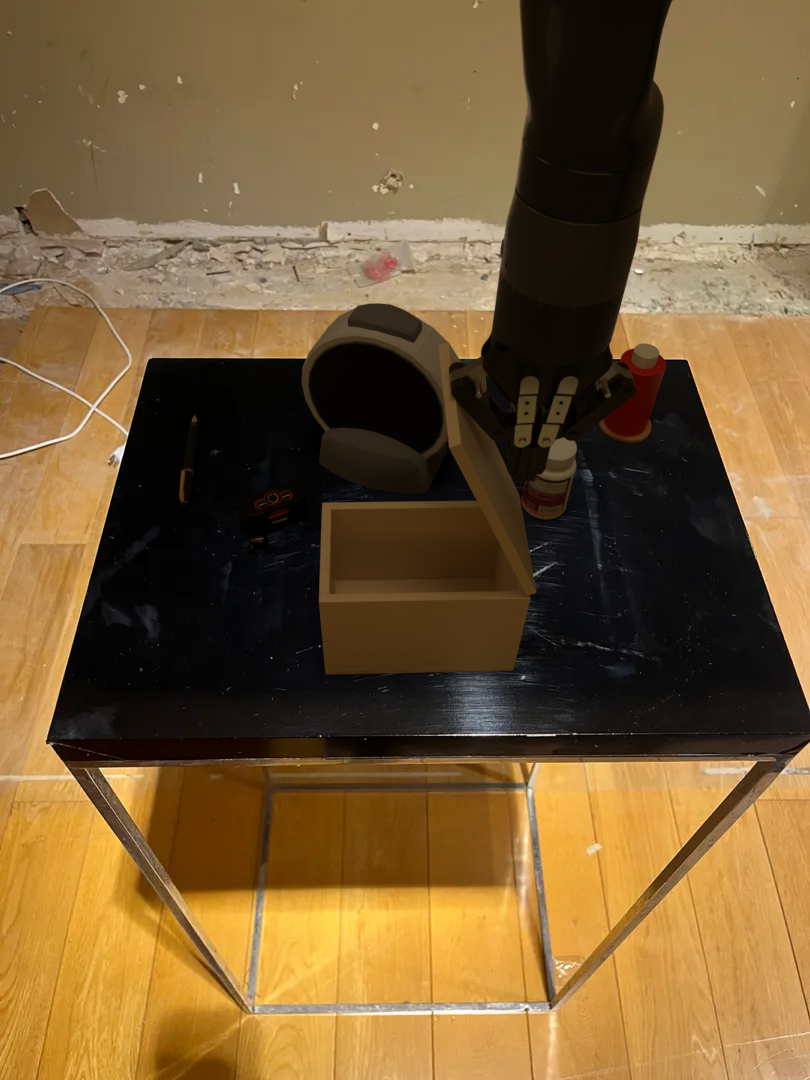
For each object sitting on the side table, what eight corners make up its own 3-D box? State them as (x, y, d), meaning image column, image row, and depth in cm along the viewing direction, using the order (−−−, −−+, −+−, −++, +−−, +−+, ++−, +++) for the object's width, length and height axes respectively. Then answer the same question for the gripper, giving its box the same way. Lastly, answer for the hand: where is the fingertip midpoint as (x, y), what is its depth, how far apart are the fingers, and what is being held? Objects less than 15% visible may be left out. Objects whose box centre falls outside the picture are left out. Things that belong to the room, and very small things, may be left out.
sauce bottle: (647, 413, 95) (671, 341, 88) (644, 440, 92) (668, 368, 85) (606, 405, 96) (626, 333, 89) (601, 432, 93) (621, 359, 86)
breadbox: (325, 674, 72) (318, 602, 64) (327, 579, 79) (322, 502, 71) (513, 670, 73) (530, 598, 65) (499, 576, 80) (513, 499, 72)
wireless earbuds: (233, 524, 83) (229, 502, 81) (298, 500, 86) (296, 478, 83) (250, 555, 81) (246, 534, 78) (317, 530, 83) (315, 508, 81)
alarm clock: (296, 466, 89) (281, 323, 75) (334, 409, 95) (327, 266, 81) (437, 508, 85) (450, 365, 72) (468, 445, 92) (484, 303, 78)
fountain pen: (190, 418, 93) (188, 408, 92) (201, 418, 93) (199, 408, 92) (178, 512, 84) (176, 502, 83) (190, 512, 84) (188, 502, 83)
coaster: (652, 413, 96) (653, 411, 96) (648, 447, 92) (649, 445, 92) (601, 403, 97) (602, 401, 97) (595, 437, 93) (595, 434, 93)
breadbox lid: (448, 447, 52) (461, 443, 52) (437, 345, 59) (448, 341, 59) (526, 596, 65) (537, 593, 64) (509, 497, 71) (519, 494, 71)
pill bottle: (534, 481, 88) (546, 422, 82) (574, 500, 87) (589, 441, 80) (511, 507, 86) (522, 448, 79) (552, 528, 84) (566, 469, 78)
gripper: (457, 301, 46) (438, 511, 59) (691, 302, 47) (620, 509, 60) (448, 231, 51) (432, 439, 64) (659, 233, 51) (600, 439, 65)
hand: (523, 473), depth 62 cm, fingers closed
